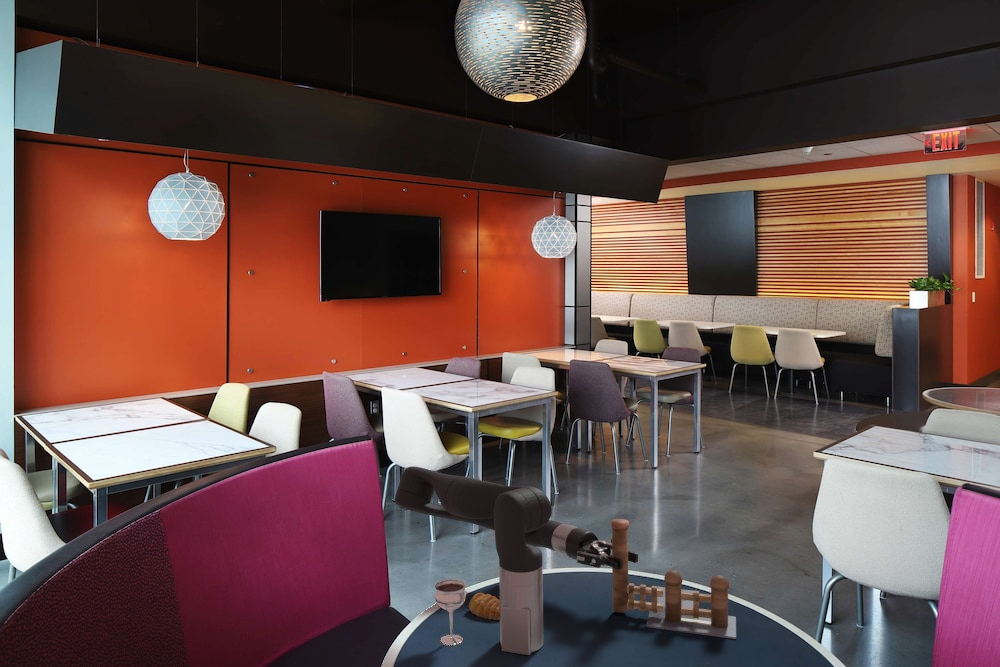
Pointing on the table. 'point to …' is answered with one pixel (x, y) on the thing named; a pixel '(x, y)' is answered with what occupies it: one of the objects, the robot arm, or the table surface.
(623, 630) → the table surface
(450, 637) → the wineglass
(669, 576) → the fixed fence
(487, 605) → the pastry
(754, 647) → the table surface
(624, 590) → the wooden fence section
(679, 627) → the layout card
